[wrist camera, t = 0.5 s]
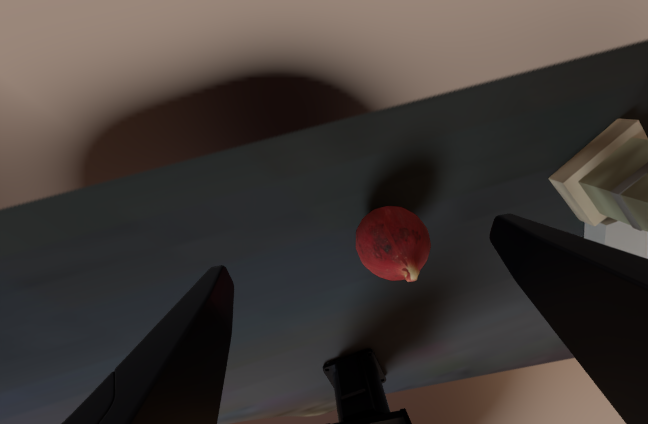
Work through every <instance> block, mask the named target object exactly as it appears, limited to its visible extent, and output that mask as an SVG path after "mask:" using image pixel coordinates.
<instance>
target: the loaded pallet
mask: <svg viewBox="0 0 648 424" xmlns="http://www.w3.org/2000/svg"><path fill="white" fill-rule="evenodd" d="M548 179H549V180H550V181H551V183H552V184H553V185H554V187H555V188H556V189H557V191H558V192H559V193H560V195H561V196H562V197H563V199H564V200H565V201H566V203H567V204H568V205H569V207H570V208H571V209H572V211H573V212H574V213H575V215H576V216H577V217H578V219H579V220H581V221H583V222H585V223H587V224H590V225H592V226H594V227H595V226H596V225H598V224H599V223H600V222H601V221H603V220H604V219H605V218H607V217H610V218H613V219H615V220H618V221H621V222H623V223H626V224H628V225H631V226H632V227H633V228H634V229H637V230H639V231H642V230H644V231H647V232H648V138H647V136H646V134H645V132H644V130H643V128H642V126H641V124H640V122H639V120H632V119H617V120H616V121H614V122H613V123H612V124H611V125H610V126H609V127H607V128H606V129H605V130H604V131H603V132H602V133H601V134H599V135H598V136H597V137H596V138H595V139H594V140H592V141H591V142H590V143H589V144H588V145H587V146H585V147H584V148H583V149H582V150H581V151H580V152H578V153H577V154H576V155H575V156H574V157H573V158H571V159H570V160H569V161H568V162H567V163H566V164H564V165H563V166H562V167H561V168H560V169H559V170H557V171H556V172H555V173H554V174H553V175H552V176H550V177H549V178H548Z"/></svg>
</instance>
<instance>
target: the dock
mask: <svg viewBox="0 0 648 424" xmlns="http://www.w3.org/2000/svg"><path fill="white" fill-rule="evenodd" d="M584 238H586V239H589V240H592V241H595V242H598V243H601V244H604V245H607V246H610V247H613V248H616V249H619V250H622V251H625V252H629V253H632V254H635V255H638V256H641V257H644V258H647V259H648V232H647V231H644V230H642V231H639V230H637V229H634V228H633V227H632V226H631V225H628V224H626V223H623V222H621V221H618V220H615V219H613V218H610V217H607V218H605V219H604V220H603V221H601V222H600V223H599V224H598V225H596V226H595V227H594V226H592V225H590V224H587V223H585V230H584Z"/></svg>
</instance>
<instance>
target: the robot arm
mask: <svg viewBox="0 0 648 424" xmlns="http://www.w3.org/2000/svg"><path fill="white" fill-rule="evenodd" d="M490 241H491V243H492V245H493V246H494V248H495V249H496V251H497V253H498V254H499V256H500V257H501V259H502V260H503V262H504V264H505V265H506V267H507V268H508V270H509V272H510V273H511V275H512V276H513V278H514V279H515V281H516V282H517V283H518V285H519V286H520V287H521V289H522V290H523V291H524V293H525V294H526V295H527V296H528V298H529V299H530V300H531V302H532V303H533V304H534V306H535V307H536V308H537V309H538V311H539V312H540V313H541V315H542V316H543V317H544V318H545V320H546V321H547V322H548V324H549V325H550V326H551V327H552V329H553V330H554V331H555V333H556V334H557V335H558V336H559V338H560V339H561V340H562V342H563V343H564V344H565V345H566V347H567V348H568V349H569V351H570V352H571V353H572V354H573V356H574V357H575V358H576V360H577V361H578V362H579V363H580V365H581V366H582V367H583V368H584V370H585V371H586V372H587V374H588V375H589V376H590V378H591V379H592V380H593V381H594V383H595V384H596V385H597V387H598V388H599V389H600V390H601V392H602V393H603V394H604V396H605V397H606V398H607V399H608V401H609V402H610V403H611V405H612V406H613V407H614V408H615V410H616V411H617V412H618V413H619V415H620V416H621V417H622V419H623V420H624V421H625V423H626V424H648V259H647V258H644V257H641V256H638V255H635V254H632V253H629V252H625V251H622V250H619V249H616V248H613V247H610V246H607V245H604V244H601V243H598V242H595V241H592V240H589V239H586V238H583V237H580V236H577V235H574V234H570V233H567V232H564V231H561V230H558V229H555V228H552V227H549V226H546V225H543V224H540V223H537V222H534V221H531V220H528V219H525V218H522V217H519V216H516V215H512V214H504V215H498V216H496V217H495V219H494V221H493V225H492V228H491V231H490ZM233 301H234V284H233V281H232V279H231V277H230V275H229V273H228V271H227V269H226V267H225V266H223V265H221V266H215V267H211V268H210V269H209V270H208V271H207V272H206V273H205V274H204V275H203V276H202V277H201V278H200V279H199V280H198V281H197V283H196V284H195V285H194V286H193V287H192V288H191V289H190V290H189V291H188V292H187V293H186V294H185V295H184V296H183V297H182V298H181V299H180V301H179V302H178V303H177V304H176V305H175V306H174V307H173V308H172V309H171V310H170V311H169V312H168V313H167V314H166V315H165V316H164V318H163V319H162V320H161V321H160V322H159V323H158V324H157V325H156V326H155V327H154V328H153V329H152V330H151V331H150V332H149V333H148V334H147V336H146V337H145V338H144V339H143V340H142V341H141V342H140V343H139V344H138V345H137V346H136V347H135V348H134V349H133V350H132V351H131V353H130V354H129V355H128V356H127V357H126V358H125V359H124V360H123V361H122V362H121V363H120V364H119V365H118V366H117V367H116V368H115V372H112V373H111V374H110V375H109V376H108V377H107V378H106V379H105V380H104V381H103V382H102V383H101V384H100V385H99V386H98V387H97V388H96V389H95V390H94V391H93V393H92V394H91V395H90V396H89V397H88V398H87V399H86V400H85V401H84V402H83V403H82V404H81V405H80V406H79V407H78V408H77V409H76V410H75V411H74V412H73V413H72V414H71V415H70V416H69V417H68V418H67V419H66V420H65V421H64V422H63V423H62V424H217V420H218V414H219V408H220V402H221V396H222V390H223V384H224V378H225V372H226V366H227V360H228V354H229V348H230V342H231V335H232V321H233ZM323 371H324V373H325V375H326V376H327V378H328V379H329V381H330V382H331V384H332V385H333V387H334V390H335V397H336V405H337V413H338V420H339V423H334V424H412V423H411V421H410V419H409V416H408V414H407V412H406V409H405V408H404V409H400V411H395V412H390V410H389V406H388V403H387V399H386V396H385V393H384V389H383V386H382V383H384V382H385V381H386V377H385V375H384V373H383V371H382V369H381V367H380V364H379V362H378V360H377V358H376V356H375V354H374V352H373V350H372V349H366V350H364V351H361V352H358V353H355V354H353V355H350V356H347V357H344V358H342V359H339V360H336V361H333V362H331V363H328V364H325V365H324V366H323ZM329 424H330V423H329Z"/></svg>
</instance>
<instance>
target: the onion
mask: <svg viewBox="0 0 648 424" xmlns="http://www.w3.org/2000/svg"><path fill="white" fill-rule="evenodd" d="M430 248H431V243H430V238H429V233H428V230H427V228H426V226H425V225H424V224H423V222H422V221H421V220H420V219H419V218H418V216H417V215H415V214H414V213H412V212H410V211H408V210H406V209H404V208H403V207H396V206H385V207H381V208H378V209H374V210H372V211H371V212H370V213H369V214H367V215H366V216H365V217H364V218H363V219H362V221H361V223H360V225H359V226H358V228H357V230H356V250H357V252H358V254H359V257H360V259H361V261H362V263H363V265H364V266H365V267H366V268H368V269H369V270H370V271H371V272H372V273H374V274H375V275H377V276H379V277H381V278H384V279H387V280H391V281H394V280H404V279H406V281H407V282H412V281H415V280H417V277H418V275H419V273H420V272H419V271H420V270H421V268H422V267H423V266H424V264H425V263H426V261H427V259H428V255H429V252H430Z"/></svg>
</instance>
